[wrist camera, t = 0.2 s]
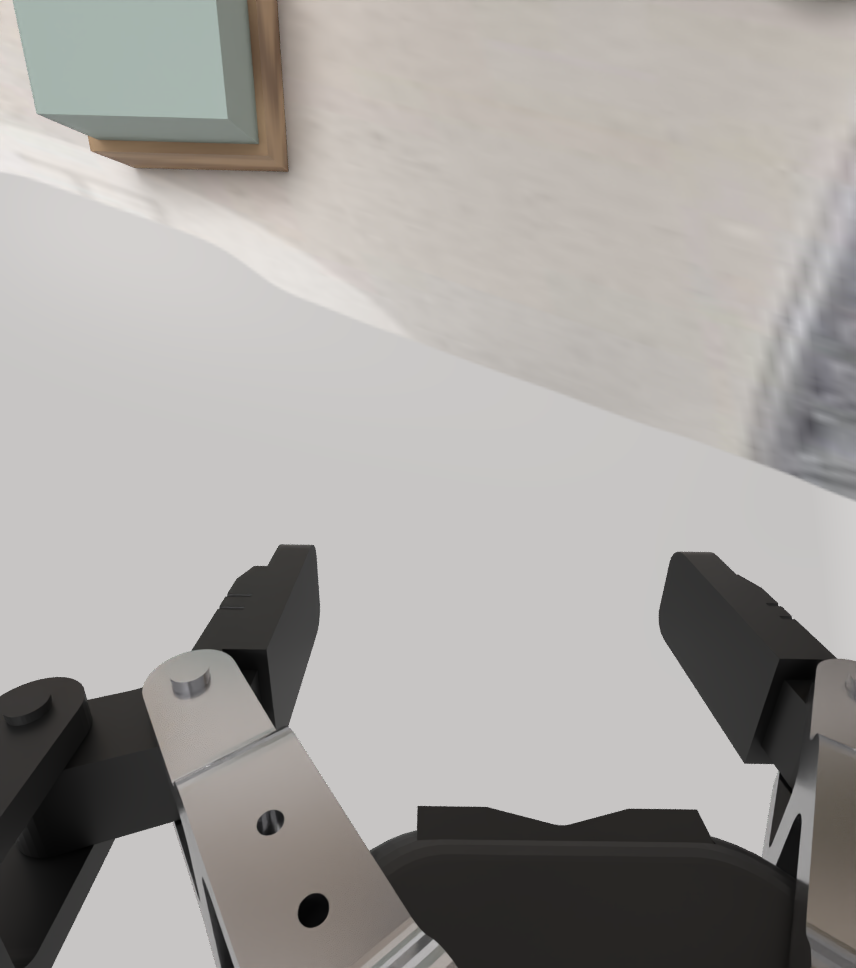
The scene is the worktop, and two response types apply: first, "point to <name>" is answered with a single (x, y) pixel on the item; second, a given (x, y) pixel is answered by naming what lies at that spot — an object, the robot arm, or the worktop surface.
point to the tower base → (227, 155)
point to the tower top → (142, 68)
